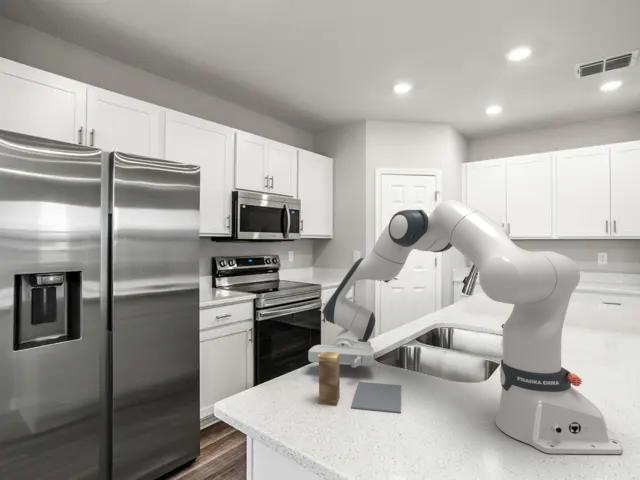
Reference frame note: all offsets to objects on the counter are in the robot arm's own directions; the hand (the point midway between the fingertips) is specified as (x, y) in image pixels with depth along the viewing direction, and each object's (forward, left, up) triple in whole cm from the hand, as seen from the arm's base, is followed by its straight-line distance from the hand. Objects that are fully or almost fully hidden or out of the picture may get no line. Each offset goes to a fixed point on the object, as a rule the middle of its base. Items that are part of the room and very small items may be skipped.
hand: (337, 363), depth 104 cm
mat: (-12, +6, -6) cm, 15 cm away
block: (0, +11, -6) cm, 12 cm away
